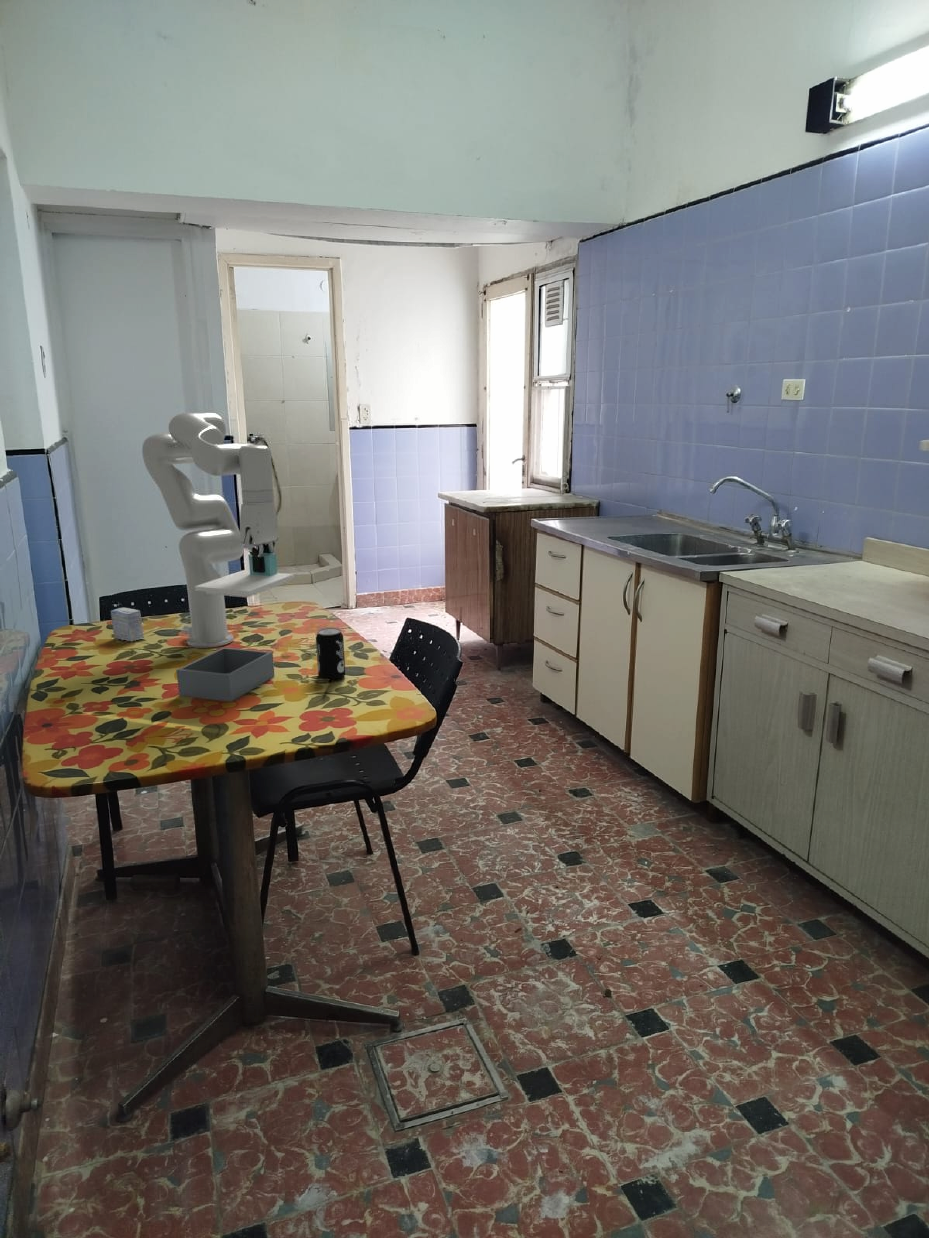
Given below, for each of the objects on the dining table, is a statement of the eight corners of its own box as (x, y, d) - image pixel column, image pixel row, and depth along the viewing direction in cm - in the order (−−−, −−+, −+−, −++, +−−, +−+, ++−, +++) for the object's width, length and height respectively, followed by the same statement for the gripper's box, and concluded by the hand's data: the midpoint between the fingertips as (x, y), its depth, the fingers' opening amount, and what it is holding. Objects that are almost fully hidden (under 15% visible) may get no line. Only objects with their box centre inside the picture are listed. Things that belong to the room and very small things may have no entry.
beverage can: (333, 684, 196) (330, 636, 193) (312, 679, 199) (309, 632, 196) (351, 676, 201) (348, 629, 198) (330, 672, 204) (327, 625, 201)
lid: (195, 594, 192) (192, 565, 191) (243, 577, 210) (241, 550, 208) (249, 599, 187) (247, 569, 185) (294, 582, 204) (292, 554, 203)
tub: (179, 698, 188) (176, 669, 186) (225, 674, 204) (223, 647, 202) (231, 705, 183) (228, 675, 181) (274, 679, 200) (272, 652, 198)
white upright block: (144, 639, 236) (140, 610, 234) (131, 643, 232) (127, 613, 230) (127, 635, 240) (123, 606, 238) (113, 639, 236) (109, 610, 234)
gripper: (264, 492, 208) (269, 563, 213) (224, 500, 193) (230, 576, 198) (289, 493, 206) (294, 565, 211) (251, 501, 191) (257, 578, 196)
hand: (263, 570), depth 204 cm, fingers closed on lid, 3 cm apart
